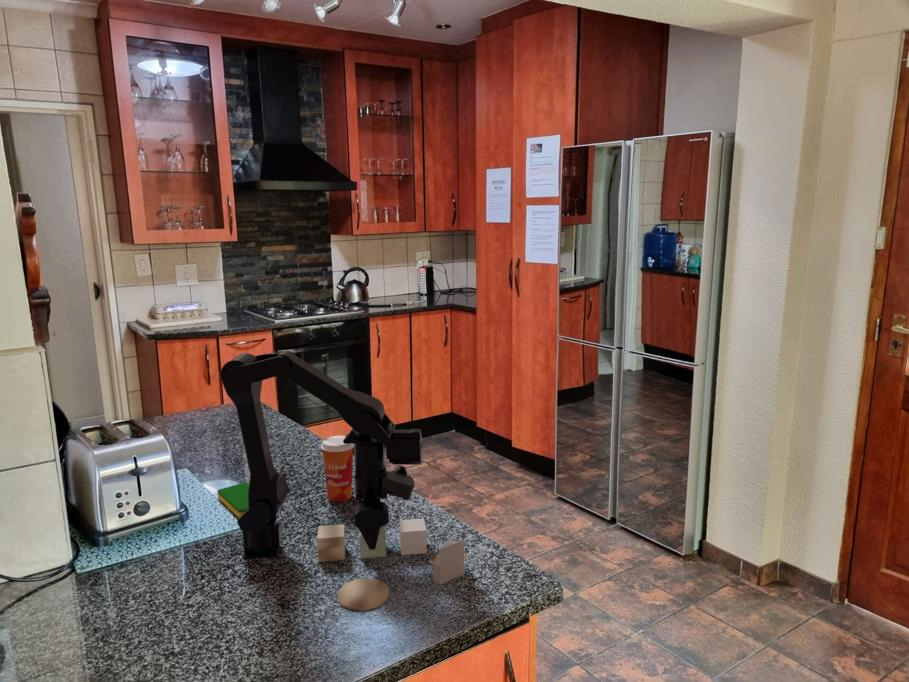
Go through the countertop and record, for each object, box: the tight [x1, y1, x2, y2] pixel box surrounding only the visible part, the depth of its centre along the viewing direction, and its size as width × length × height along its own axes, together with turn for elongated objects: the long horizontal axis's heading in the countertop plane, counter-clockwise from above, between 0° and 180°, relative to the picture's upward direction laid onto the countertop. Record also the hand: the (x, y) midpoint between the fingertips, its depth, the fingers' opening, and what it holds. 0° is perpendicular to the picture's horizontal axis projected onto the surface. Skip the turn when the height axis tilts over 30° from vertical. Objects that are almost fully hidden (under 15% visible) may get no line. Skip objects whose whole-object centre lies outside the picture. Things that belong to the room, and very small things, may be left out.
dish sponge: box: [217, 481, 249, 519], centre depth 151 cm, size 7×14×2 cm, turn 39°
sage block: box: [358, 525, 387, 560], centre depth 130 cm, size 5×5×5 cm
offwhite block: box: [398, 517, 428, 556], centre depth 131 cm, size 5×5×5 cm
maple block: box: [316, 523, 346, 563], centre depth 129 cm, size 5×5×5 cm
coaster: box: [337, 577, 390, 612], centre depth 115 cm, size 9×9×1 cm
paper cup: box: [320, 435, 354, 503], centre depth 153 cm, size 8×8×14 cm
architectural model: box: [428, 539, 469, 585], centre depth 121 cm, size 3×7×7 cm, turn 127°
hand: (371, 537), depth 130 cm, fingers open, 9 cm apart
